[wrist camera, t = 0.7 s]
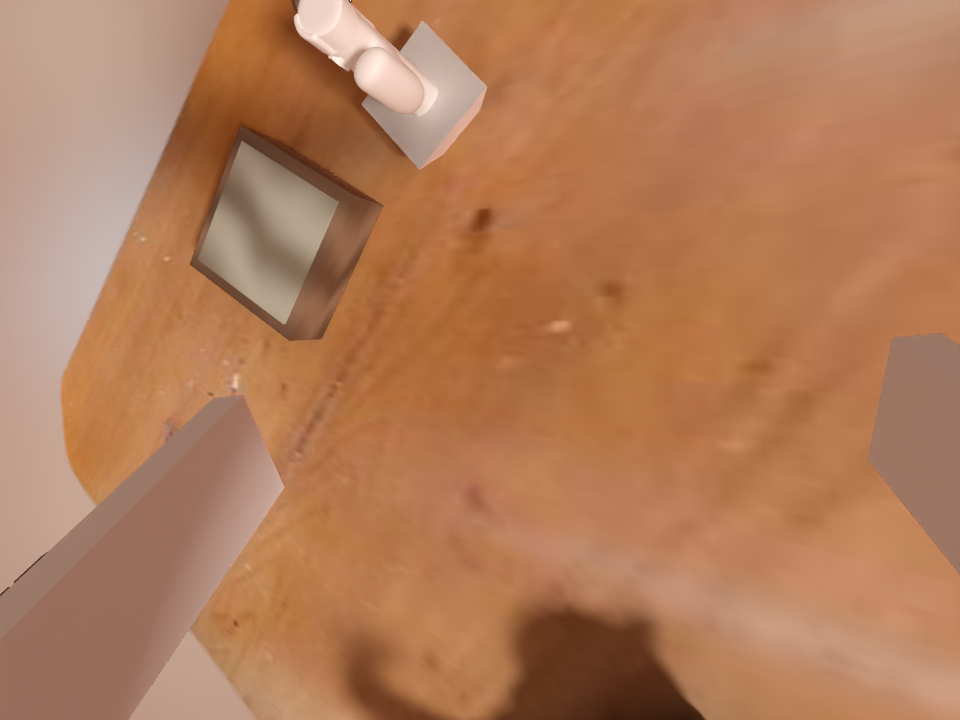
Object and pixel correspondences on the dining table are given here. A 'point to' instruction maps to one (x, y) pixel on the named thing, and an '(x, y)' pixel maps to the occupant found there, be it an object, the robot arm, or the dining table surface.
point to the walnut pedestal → (283, 236)
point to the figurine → (398, 77)
